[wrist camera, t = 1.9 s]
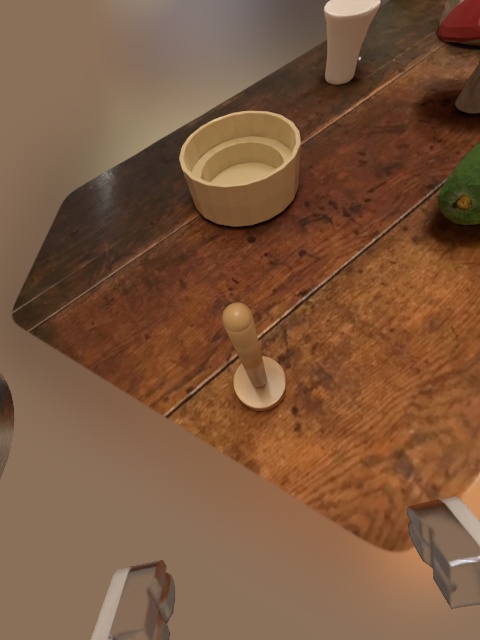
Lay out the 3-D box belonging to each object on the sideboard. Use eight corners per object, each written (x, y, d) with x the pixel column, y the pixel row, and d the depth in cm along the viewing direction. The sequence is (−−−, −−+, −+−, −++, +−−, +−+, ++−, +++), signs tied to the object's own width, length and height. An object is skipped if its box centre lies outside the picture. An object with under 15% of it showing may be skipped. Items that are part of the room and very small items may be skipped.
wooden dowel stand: (266, 422, 26) (243, 384, 11) (226, 390, 28) (163, 323, 13) (295, 380, 27) (309, 297, 13) (255, 352, 29) (227, 253, 15)
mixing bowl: (255, 245, 36) (249, 203, 30) (174, 205, 42) (156, 163, 36) (318, 175, 41) (324, 125, 34) (237, 148, 47) (229, 102, 41)
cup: (335, 94, 50) (347, 17, 41) (308, 77, 54) (313, 3, 45) (376, 77, 50) (395, -3, 41) (346, 61, 55) (358, -15, 46)
